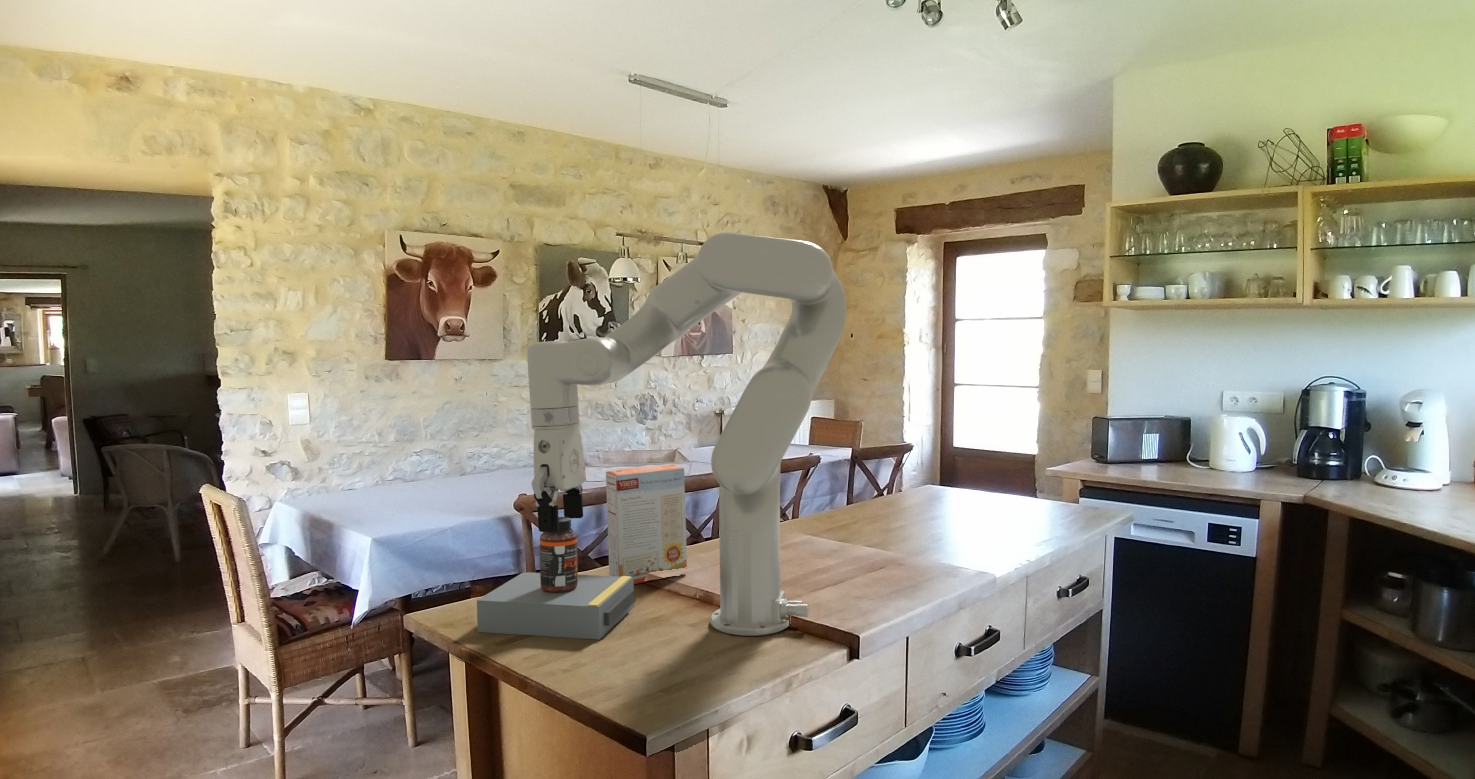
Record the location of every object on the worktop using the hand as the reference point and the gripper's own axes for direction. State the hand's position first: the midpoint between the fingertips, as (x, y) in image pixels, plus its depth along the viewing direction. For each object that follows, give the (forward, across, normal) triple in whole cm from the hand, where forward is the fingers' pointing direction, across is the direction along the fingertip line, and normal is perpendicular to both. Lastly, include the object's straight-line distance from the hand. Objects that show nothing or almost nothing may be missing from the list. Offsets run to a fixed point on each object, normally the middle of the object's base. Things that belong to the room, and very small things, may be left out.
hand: (561, 524), depth 134 cm
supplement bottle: (+11, 0, +1) cm, 11 cm away
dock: (+15, 0, +1) cm, 15 cm away
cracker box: (+16, +25, -6) cm, 30 cm away
